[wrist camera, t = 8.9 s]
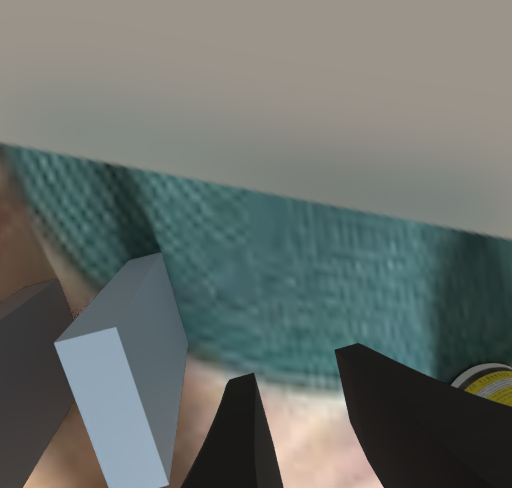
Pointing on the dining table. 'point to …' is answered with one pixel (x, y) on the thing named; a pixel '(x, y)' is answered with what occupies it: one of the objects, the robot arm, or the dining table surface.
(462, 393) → the robot arm
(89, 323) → the slate domino
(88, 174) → the dining table surface
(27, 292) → the domino
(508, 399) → the supplement bottle
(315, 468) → the dining table surface
